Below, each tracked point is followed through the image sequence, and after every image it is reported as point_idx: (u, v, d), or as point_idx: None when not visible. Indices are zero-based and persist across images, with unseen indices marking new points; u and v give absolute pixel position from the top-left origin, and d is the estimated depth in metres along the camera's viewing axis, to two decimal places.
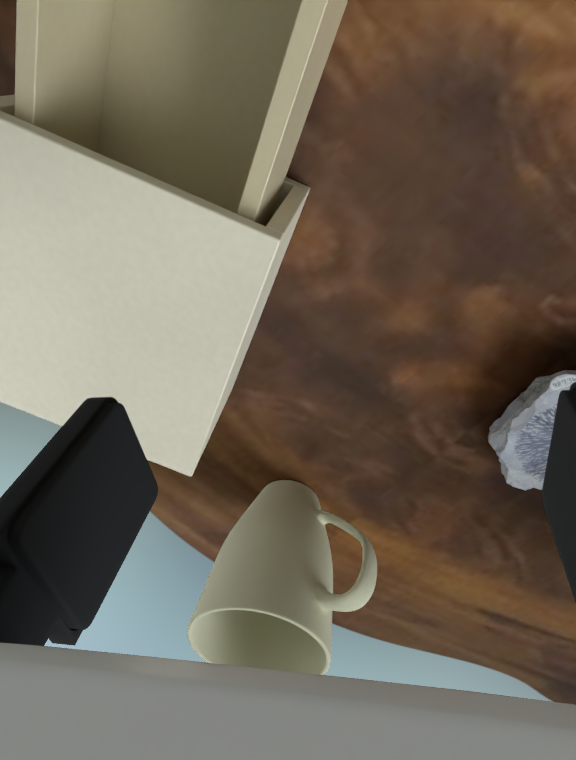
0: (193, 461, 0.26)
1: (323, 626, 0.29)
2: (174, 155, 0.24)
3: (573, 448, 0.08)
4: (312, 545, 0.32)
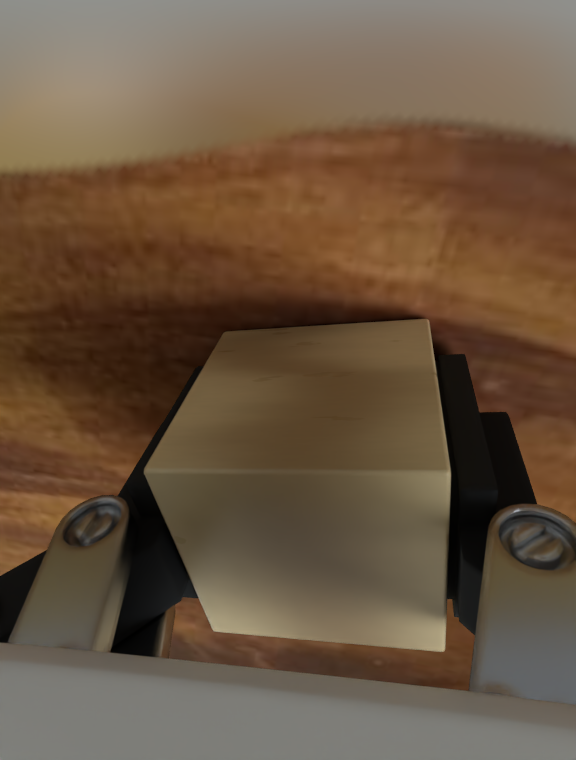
0: None
1: None
2: None
3: None
4: None
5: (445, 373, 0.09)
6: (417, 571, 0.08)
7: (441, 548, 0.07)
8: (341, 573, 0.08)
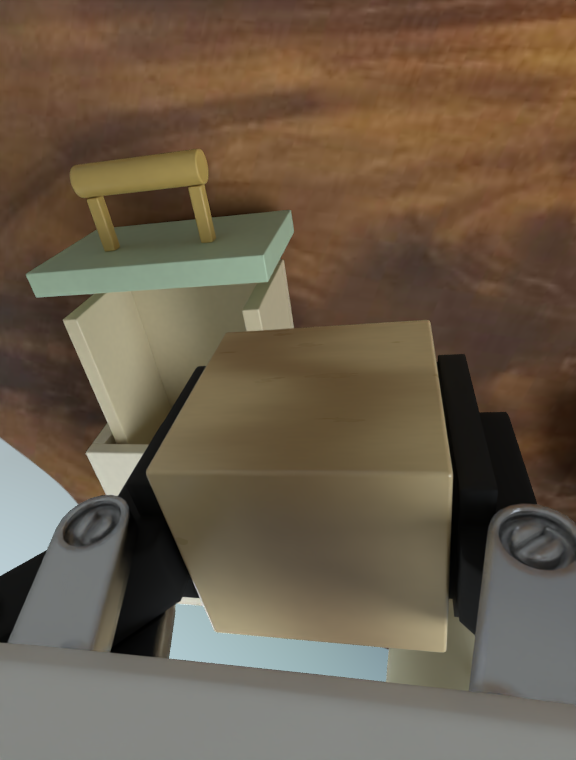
0: None
1: None
2: None
3: None
4: (463, 633, 0.35)
5: (445, 373, 0.09)
6: (418, 573, 0.08)
7: (443, 549, 0.07)
8: (342, 575, 0.08)
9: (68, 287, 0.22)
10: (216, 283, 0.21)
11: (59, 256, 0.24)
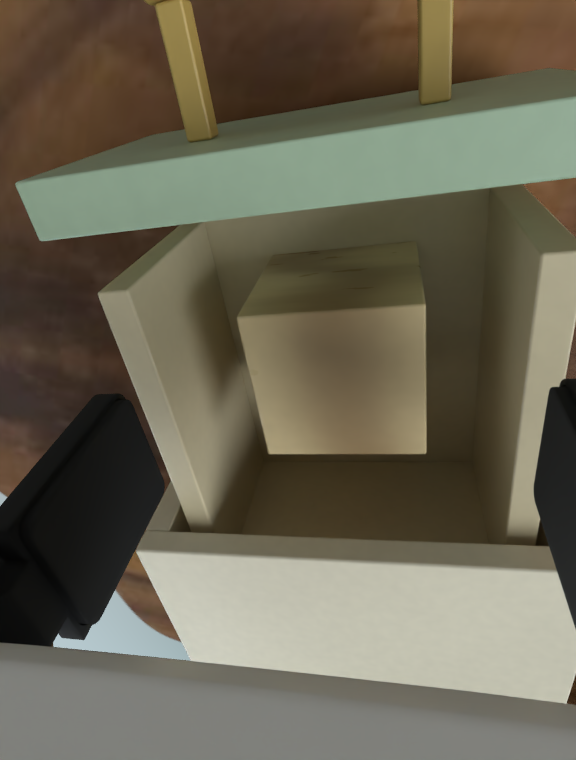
0: None
1: None
2: None
3: (562, 444, 0.08)
4: None
5: None
6: (407, 384, 0.12)
7: (421, 362, 0.12)
8: (358, 391, 0.12)
9: (115, 212, 0.10)
10: (502, 180, 0.08)
11: (88, 159, 0.11)
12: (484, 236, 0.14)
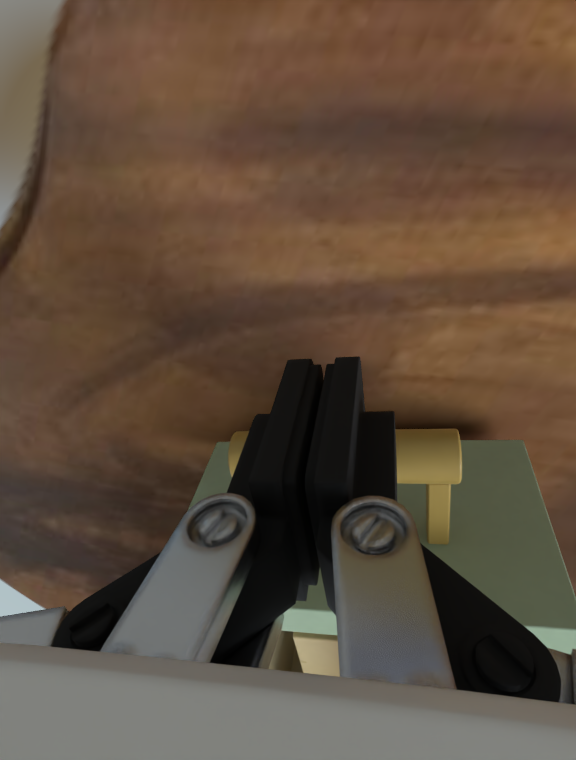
0: None
1: None
2: None
3: None
4: None
5: (335, 374, 0.10)
6: None
7: None
8: None
9: None
10: None
11: None
12: None
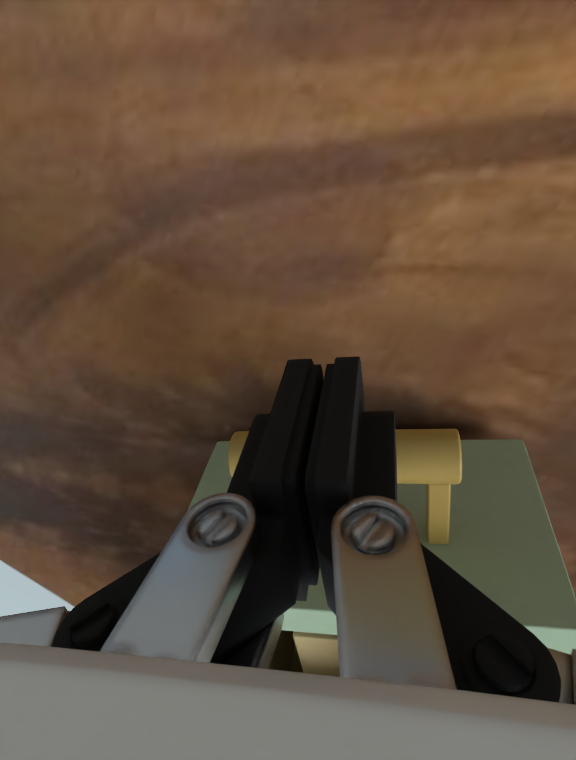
0: None
1: None
2: None
3: None
4: None
5: (335, 374, 0.10)
6: None
7: None
8: None
9: None
10: None
11: None
12: None
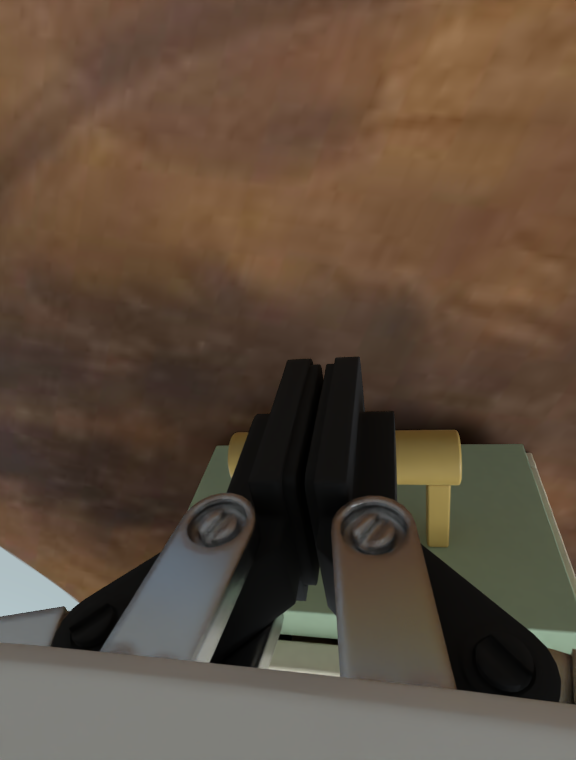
0: None
1: None
2: None
3: None
4: None
5: (335, 375, 0.10)
6: None
7: None
8: None
9: None
10: None
11: None
12: None
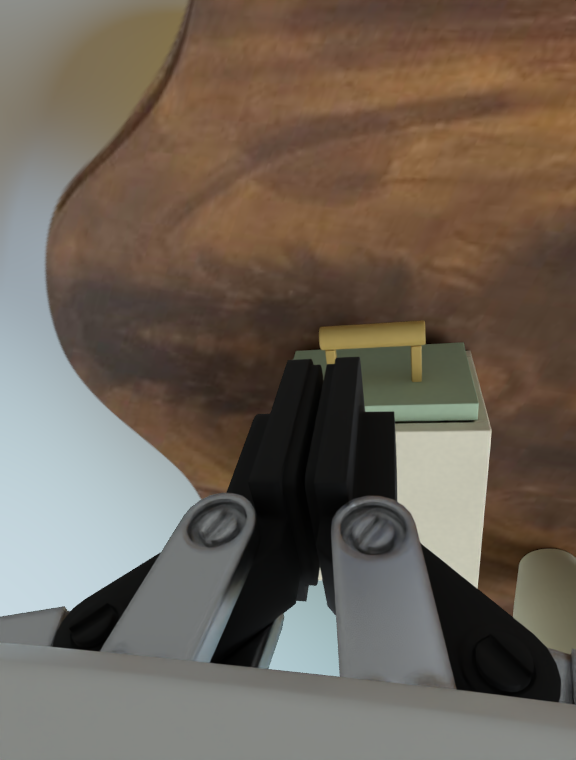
0: (475, 578, 0.33)
1: None
2: None
3: None
4: None
5: (335, 374, 0.10)
6: None
7: None
8: None
9: None
10: (435, 419, 0.28)
11: None
12: None
